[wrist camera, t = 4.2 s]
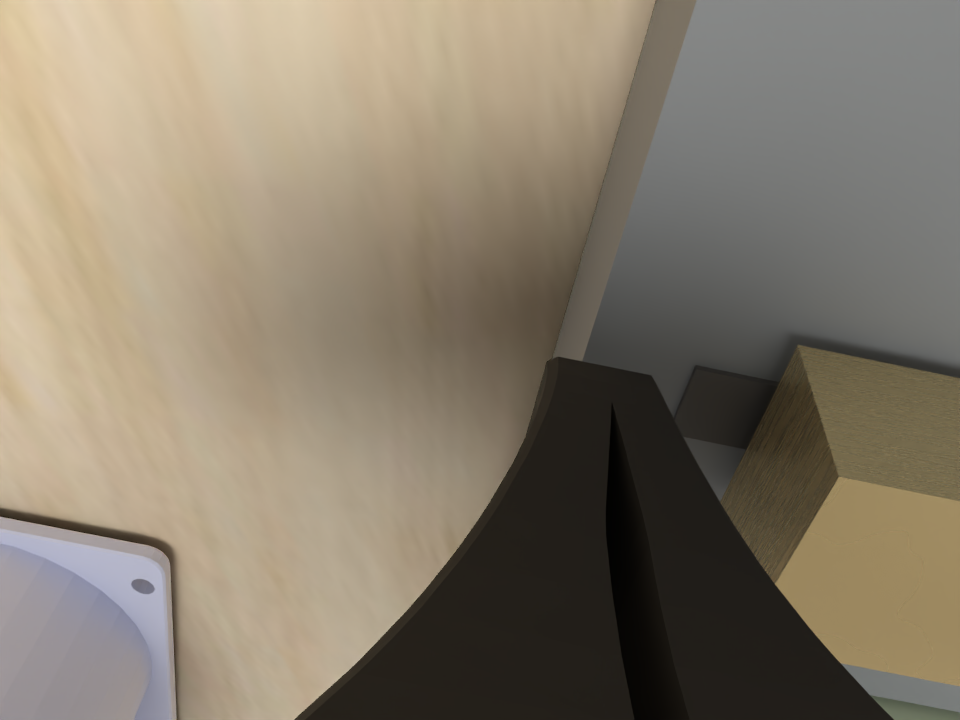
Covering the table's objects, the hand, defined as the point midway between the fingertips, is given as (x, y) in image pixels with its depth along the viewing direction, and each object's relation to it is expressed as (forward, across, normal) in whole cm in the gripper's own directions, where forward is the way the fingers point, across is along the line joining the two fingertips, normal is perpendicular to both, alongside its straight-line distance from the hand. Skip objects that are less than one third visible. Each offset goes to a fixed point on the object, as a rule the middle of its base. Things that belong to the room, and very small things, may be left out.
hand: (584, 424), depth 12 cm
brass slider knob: (+1, -4, 0) cm, 4 cm away
